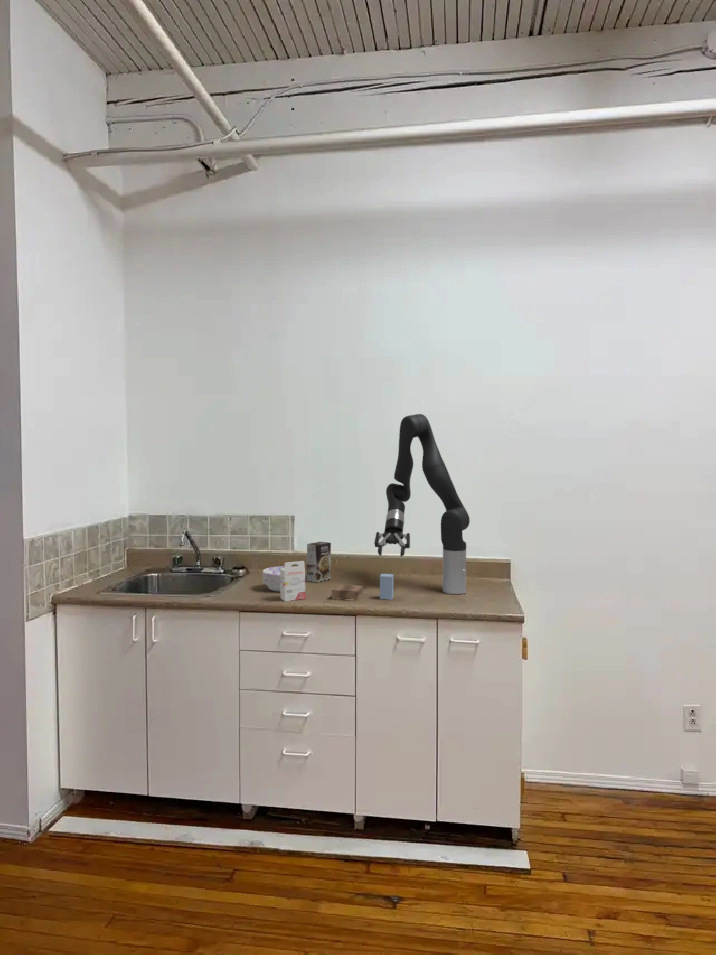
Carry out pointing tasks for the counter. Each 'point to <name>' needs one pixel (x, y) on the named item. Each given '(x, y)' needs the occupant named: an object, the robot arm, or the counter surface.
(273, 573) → the paper bowls
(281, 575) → the ink cartridge box
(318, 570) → the coffee box
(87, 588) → the counter surface
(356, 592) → the walnut block
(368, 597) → the counter surface
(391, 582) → the slate block
